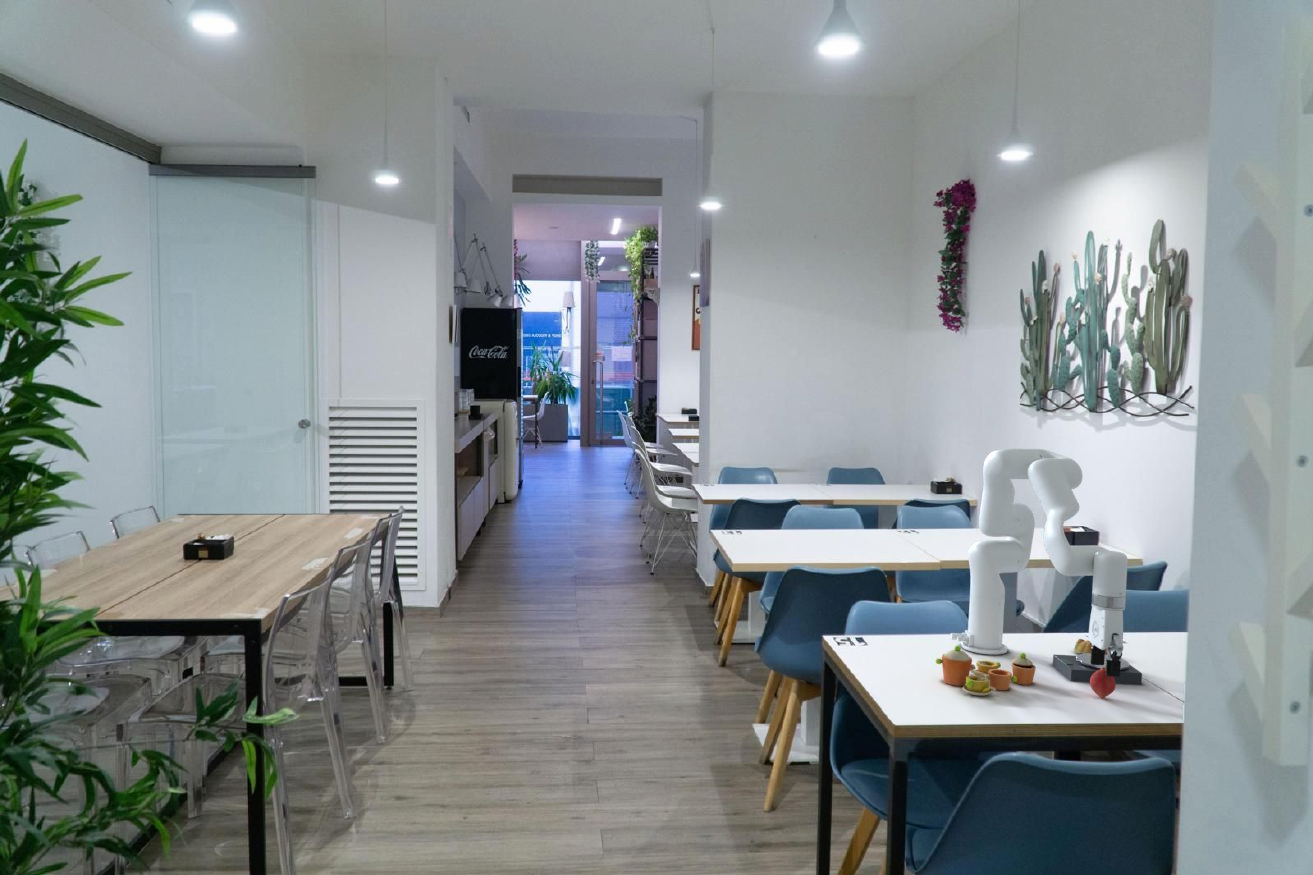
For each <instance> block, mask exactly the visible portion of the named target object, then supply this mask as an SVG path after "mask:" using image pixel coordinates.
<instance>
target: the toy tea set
mask: <svg viewBox="0 0 1313 875" xmlns="http://www.w3.org/2000/svg"><path fill="white" fill-rule="evenodd" d="M961 648H962V647H961V645H955V646H954V648H953V649H950V650H948V651H947V652H945V653H943V654H942V655H941V658H940V657H939V658H936V659H935V663H936V664H937V665H941V664H942V665H941V666H942V677H943V682H944V683H945V684H948V685H950V686H957V687H962V690H963V691H964V692H965V693H967V694H969V695H971V696H987V695H990V694H991V692H997V691H1007V690H1009V688H1010V685H1011V682H1012V683H1015V684H1018V685H1022V686H1023V685H1024V686H1029V685H1032V684H1033V682H1034V678H1035V672H1036V668H1037V667H1036V665H1034V663H1033V661H1032V660H1030V659H1029V658H1027V654H1026V653H1024V652H1021V653H1020V654H1019V657H1015V658H1013V659H1012V661H1011V662H1012V663H1011V670H1012V672H1011V671H1009V670H1005V669H1002V668H1001V666H1002V664H1001V662H999V661H997V662H996V661H991V660H977V661H976V662H975V663H976V664H973V658H972V657H971V656H969V654H967V652H965V651H963V650H961ZM975 665H976V666H975ZM976 667H977V669H976ZM1000 668H1001V669H1000ZM970 673H972V674H973V675H970Z"/></svg>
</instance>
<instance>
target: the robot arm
mask: <svg viewBox="0 0 1313 875" xmlns="http://www.w3.org/2000/svg"><path fill="white" fill-rule="evenodd" d="M982 467H983V468H982V472H983V473H982V474H983V476H982V478H983V489H982V496H981V502H980V503H981V504H980V510H979V518H978V527H979V531H980V532H981V533H982V534H983V535H984V536H987V537H992V538H997V537H999V538H1001V537H1003V538H1004V537H1005V539H985V540H980V541H977V542H975V543H974V544H972V545H971V546H970V548H969V550H968V557H967V558H968V565H969V566H968V567H969V573H970V586H969V588H970V589H969V606H968V608H969V610H968V625H967V629H964V632H961V633H957V632H950V640H951V641H957V642H961V648H963V649H964V650H966V651H968V652H972V653H976V654H981V655H993V656H994V655H996V656H997V655H1004V654H1006V653H1007V652H1008V646H1007V645H1006V644H1004V643H1003V634H1004V621H1005V620H1004V619H1005V618H1004V617H1005V601H1006V587H1005V584H1004V582H1003V580H1002V579H1001V576H1000V574H1009V573H1011V574H1012V573H1020V572H1022V571H1024V570H1025V569H1026V568H1027V566H1028V565H1029V562H1030V558H1031V552H1032V546H1033V539H1034V533H1035V524H1036V522H1035V517H1034V512H1033V511H1032V510H1031V508H1030V507H1029V506H1027V505H1026V504H1024V503H1019V502H1014V501H1015V494H1016V492H1015V487H1014V483H1013V482H1012V480H1029V482H1030V485H1031V486H1032V488H1033V491H1034V493H1035V494H1036V495H1035V496H1036V497H1037V499H1038V502H1039V503H1040V505H1041V507H1042V509H1043V512H1044V514H1045V516H1046V521H1045V524H1044V526H1043V527H1044V528H1043V545H1044V548H1045V551H1046V553H1047V555H1048V558H1049V559H1050V562H1051V563H1052V565H1053V567H1054V568H1055V570H1056V571H1057V572H1058V573H1059V574H1061V575H1062V576H1065V577H1089V576H1090V577H1091V576H1092V587H1091V588H1092V590H1091V611H1090V616H1089V617H1090V618H1089V625H1088V626H1089V627H1088V637H1087V638H1088V639H1087V640H1089V641H1090V642H1091V648H1093V649H1091V662H1090V663H1091V664H1092V665H1104V659H1105V649H1106V651H1107V655H1108V659H1106V675H1107V676H1114V677H1119V676H1120V668H1121V660H1122V659H1123V658H1122V657H1123V651H1124V613H1123V612H1124V611H1125V610H1126V602H1127V601H1126V599H1127V597H1126V596H1127V580H1128V562H1129V561H1128V556H1127V555H1126V554H1125V553H1124V552H1120V551H1116V550H1110V549H1107V548H1105V547H1103V546H1100V545H1070V543H1069V541H1068V539H1067V537H1066V533H1065V531H1064V530H1065V529H1064V523H1065V522H1067V521H1069V520H1071V519H1072V518H1073V517H1074V516H1076V515H1077V514H1078V513H1079V511H1080V503H1079V501H1078V500H1077V497H1076V495H1075V493H1074V491H1073V490H1074V489H1077V488H1078V487H1079V486H1080V485H1081V484H1082V481H1083V470H1082V468H1081V466H1080V465H1079V463H1078V462H1077V461H1076V460H1074V459H1073V458H1070V457H1067V456H1064V455H1062V454H1058V453H1056V452H1054V451H1050V450H1047V449H1041V448H1002V449H997V450H994V451H992V452H990V453H989V454H988V455H987V456H986V458H985V460H984V463H983V466H982Z"/></svg>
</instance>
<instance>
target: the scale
mask: <svg viewBox="0 0 1313 875" xmlns="http://www.w3.org/2000/svg"><path fill="white" fill-rule="evenodd" d="M1076 656H1077V655H1073V654H1053V655H1052V666H1053V667H1054V668H1055V669H1056V670H1057V671H1059V672H1060V673H1061V674H1062V675H1063V676H1064V677H1066V679H1068V680H1069V681H1070V682H1082V683H1083V682H1087V683H1090V678H1091V676H1092V675H1093V674H1094V673H1095V672H1096V671H1098V670H1100V668H1095V667H1090V666H1087V665H1084V664H1081V663H1079V662H1078V661H1077V660H1076ZM1113 677H1114V676H1113ZM1114 679H1115V682H1116V684H1124V685H1125V684H1126V685H1142V682H1143V681H1142V680H1143V673H1142V671H1140V670H1138V669H1137V668H1135V667H1134V666H1133V665H1131V664H1130V663H1129V668H1127V669H1123V670H1120V676H1119V677H1114Z"/></svg>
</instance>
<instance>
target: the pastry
mask: <svg viewBox="0 0 1313 875" xmlns="http://www.w3.org/2000/svg"><path fill="white" fill-rule="evenodd" d="M1091 649H1093V648H1091V642H1090V641H1089V639H1087V640H1085V639H1083V638H1078V639H1077V641H1076V642H1075V644H1074V647H1073V650H1074V652H1075V653H1076V654H1078V655H1079V654H1086V653H1091ZM1105 655H1107V651H1106V649H1105Z"/></svg>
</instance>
